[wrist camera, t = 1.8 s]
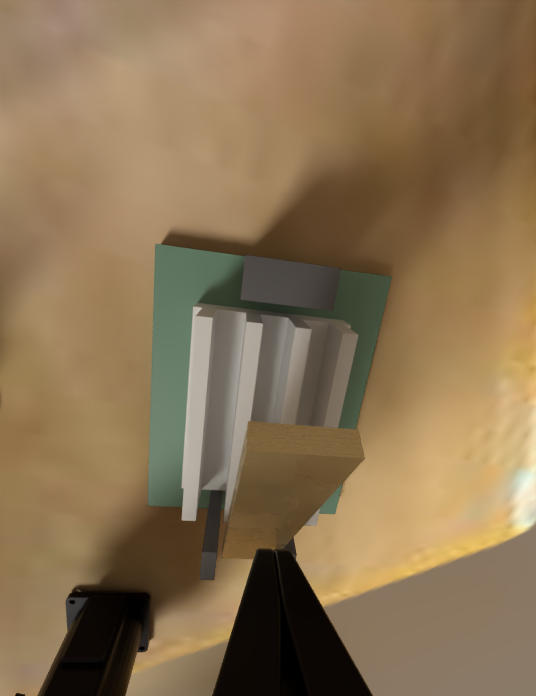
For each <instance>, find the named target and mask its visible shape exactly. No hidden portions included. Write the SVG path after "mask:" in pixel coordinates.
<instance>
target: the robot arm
mask: <svg viewBox="0 0 536 696" xmlns="http://www.w3.org/2000/svg"><path fill="white" fill-rule="evenodd" d="M150 607H151V596H150V595H149V594H147V593H92V592H73V593H70V594H69V596H68V598H67V599H66V614H67V629H68V632H67V634H66V636H65V638H64V640H63V643H62V645H61V647H60V649H59V651H58V653H57V655H56V657H55V659H54V662H53V664H52V666H51V668H50V670H49V672H48V674H47V676H46V679H45V681H44V683H43V685H42V687H41V689H40V691H39V693H38V695H37V696H125V695H126V692H127V688H128V684H129V680H130V677H131V673H132V669H133V666H134V662H135V658H136V655H137V652H145V651H147V649H148V646H149V634H150ZM15 696H25V694H20V693H16V695H15ZM212 696H373V695H372V693H371V691H370V690H369V688H368V686H367V684H366V683H365V681H364V679H363V677H362V675H361V674H360V672H359V670H358V668H357V667H356V665H355V663H354V661H353V660H352V658H351V656H350V655H349V653H348V651H347V649H346V647H345V646H344V644H343V642H342V640H341V639H340V637H339V635H338V633H337V632H336V630H335V628H334V626H333V624H332V623H331V621H330V619H329V617H328V616H327V614H326V612H325V610H324V609H323V607H322V605H321V603H320V602H319V600H318V598H317V596H316V595H315V593H314V591H313V589H312V588H311V586H310V584H309V582H308V580H307V579H306V577H305V575H304V573H303V572H302V570H301V568H300V566H299V565H298V563H297V561H296V559H295V558H294V556H293V554H292V552H291V551H290V550H289V549H274V551H273V550H272V549H270V548H258V549H257V551H256V553H255V557H254V560H253V563H252V566H251V570H250V573H249V576H248V580H247V583H246V586H245V590H244V593H243V596H242V599H241V603H240V606H239V609H238V613H237V616H236V619H235V622H234V626H233V629H232V632H231V636H230V639H229V642H228V646H227V649H226V652H225V655H224V659H223V662H222V666H221V669H220V672H219V675H218V679H217V682H216V685H215V688H214V692H213V695H212Z"/></svg>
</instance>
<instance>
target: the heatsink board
mask: <svg viewBox="0 0 536 696" xmlns="http://www.w3.org/2000/svg"><path fill="white" fill-rule="evenodd" d="M391 279H392V277H389V276H382V275H375V274H368V273H361V272H354V271H347V270H341V268H335V267H328V266H321V265H314V264H307V263H300V262H293V261H285V260H278V259H271V258H264V257H257V256H250V255H245V256H239V255H232V254H225V253H218V252H211V251H204V250H196V249H189V248H182V247H175V246H168V245H161V244H155V275H154V309H153V343H152V377H151V411H150V446H149V480H148V506H163V507H182V521H196V517H197V511H198V508H208V514H207V521H206V528H205V535H204V543H203V550H202V559H201V570H200V580H214V576H215V567H216V558H217V548H218V537H219V526H220V515H221V509H224V521H223V522H227V520H228V515H229V510H230V506H231V501H232V496H233V491H234V486H235V482H236V477H237V472H238V467H239V462H240V458H241V453H242V448H243V443H244V438H245V434H246V429H247V424H248V421H254V422H267V423H280V424H293V425H306V426H318V427H331V428H344V429H356V425H357V421H358V417H359V412H360V408H361V404H362V400H363V396H364V392H365V387H366V383H367V379H368V375H369V371H370V367H371V362H372V358H373V354H374V350H375V346H376V342H377V337H378V333H379V329H380V325H381V321H382V317H383V312H384V308H385V304H386V300H387V296H388V291H389V287H390V283H391ZM341 488H342V484H341V485H340V486H339V487H338V489H337V490H336V491H335V492H334V493H333V494H332V495H331V496H330V497H329V498H328V500H327V501H326V502H325V503H324V504H323V505H322V506H321V507H320V508H319V510H318V511H317V512H316V513H315V514H314V515H313V516H312V517H311V518H310V519H309V521H308V522H307V523H306V524H305V525H308V526H316V525H317V520H318V516H319V513H320V514H335V513H336V508H337V504H338V500H339V496H340V492H341ZM283 549H289V550H290V551H291V552H292V554H293V556H294V558H295V559H296V555H297V554H296V549H295V543H294V538H292V539H291V540H290V541H289V543H288V544H287V545H286V546H285V547H284V548H283Z"/></svg>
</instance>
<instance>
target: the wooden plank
mask: <svg viewBox="0 0 536 696" xmlns="http://www.w3.org/2000/svg"><path fill="white" fill-rule="evenodd" d="M364 459H365V457H364V452H363V448H362V444H361V439H360V435H359V431H358V430H357V429H344V428H331V427H318V426H306V425H293V424H280V423H267V422H254V421H248V424H247V429H246V434H245V438H244V443H243V448H242V453H241V458H240V462H239V467H238V472H237V477H236V482H235V486H234V491H233V496H232V501H231V506H230V510H229V515H228V520H227V525H226V530H225V534H224V539H223V547H222V558H235V559H254V557H255V553H256V551H257V549H258V548H270V549H272V550H273V551H274V549H283V548H284V547H285V546H286V545H287V544H288V543H289V541H290V540H291V539H292V538H293V537H294V536H295V535H296V534H297V533H298V532H299V530H300V529H301V528H302V527H303V526H304V525H305V524H306V523H307V522H308V521H309V519H310V518H311V517H312V516H313V515H314V514H315V513H316V512H317V511H318V510H319V508H320V507H321V506H322V505H323V504H324V503H325V502H326V501H327V500H328V498H329V497H330V496H331V495H332V494H333V493H334V492H335V491H336V490H337V489H338V487H339V486H340V485H341V484H342V483H343V482H344V481H345V480H346V479H347V478H348V476H349V475H350V474H351V473H352V472H353V471H354V470H355V469H356V468H357V467H358V465H359V464H360V463H361V462H362V461H363V460H364Z"/></svg>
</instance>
